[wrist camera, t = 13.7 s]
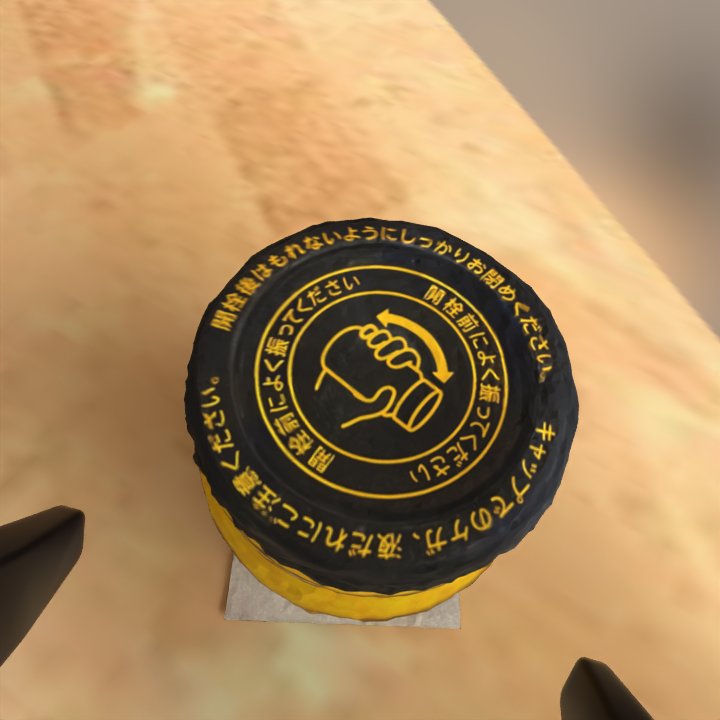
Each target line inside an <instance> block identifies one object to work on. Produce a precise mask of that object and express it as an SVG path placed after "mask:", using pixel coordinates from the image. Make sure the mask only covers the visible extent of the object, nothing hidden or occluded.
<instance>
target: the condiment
mask: <svg viewBox="0 0 720 720" xmlns="http://www.w3.org/2000/svg"><path fill="white" fill-rule="evenodd" d="M187 369H188V377H187V379H186V381H185V383H186V391H185V397H184V402H185V415H186V418H185V419H186V422H187V430H188V432H189V434H190V436H191V437H192V439H193V441H194V445H195V453H194V455H193V459H194V462H195V464H196V465H197V466H198V467H199V470H200V473H201V479H202V484H203V489H204V493H205V495H206V498H207V502H208V506H209V510H210V512H211V515H212V518H213V520H214V522H215V524H216V527H217V528H218V530H219V532H220V534H221V535H222V537H223V539H224V540H225V541H226V543H227V544H228V546H229V547H230V548H231V550H232V552H233V553H234V555H233V562H232V568H231V576H230V584H229V591H228V598H227V605H226V611H225V616H224V620H247V621H274V622H302V623H326V624H353V625H379V626H401V627H410V626H412V627H429V628H455V629H461V622H460V602H459V592H460V591H461V590H463V589H465V588H467V587H469V586H470V585H471V584H473V583H474V582H475V581H476V579H477V578H478V577H479V576H480V575H481V574H482V573H483V572H484V571H485V570H486V569H487V568H488V567H489V566H490V565H491V563H492V562H493V560H494V559H495V558H496V557H497V556H498V555H499V554H503V553H506V552H508V551H510V550H512V549H514V548H515V547H516V546H517V545H518V543H519V542H520V541H521V540H522V539H523V538H524V537H525V536H526V534H527V533H528V532H530V531H532V530H533V529H534V527H535V525H536V524H537V522H538V521H539V519H540V517H541V516H542V515H543V514H544V512H545V510H546V509H547V508H548V507H549V506H550V505H551V504H552V502H553V499H554V496H555V494H556V491H557V489H558V488H559V486H560V484H561V480H562V477H563V473H564V470H565V467H566V464H567V462H568V458H569V452H570V449H571V445H572V442H573V438H574V435H575V432H576V428H577V424H578V412H579V403H578V396H577V391H576V387H575V384H574V380H573V377H572V370H571V363H570V360H569V356H568V351H567V346H566V343H565V341H564V338H563V336H562V334H561V333H560V331H559V329H558V327H557V325H556V323H555V321H554V319H553V317H552V314H551V311H550V310H549V309H548V308H547V307H546V305H545V304H544V303H543V302H542V301H541V299H540V298H539V297H538V296H537V294H536V293H535V292H534V290H533V289H532V287H531V286H529V285H528V284H526V283H525V282H523V281H522V280H521V279H520V278H519V277H518V276H517V275H515V274H514V273H513V272H511V271H510V270H508V269H507V268H506V267H504V266H503V265H501V264H500V263H499V262H497V261H496V260H495V259H494V258H493V257H491V256H490V255H488V254H487V253H485V252H483V251H482V250H480V249H478V248H475V247H474V246H472V245H470V244H469V243H467V242H465V241H463V240H461V239H460V238H457V237H455V236H453V235H451V234H449V233H447V232H445V231H443V230H441V229H439V228H437V227H431V226H426V225H420V224H414V223H410V222H405V221H388V220H381V219H375V218H361V219H355V220H344V221H327V222H324V223H321V224H318V225H312V226H310V227H308V228H306V229H304V230H302V231H300V232H297V233H295V234H293V235H291V236H288V237H286V238H283V239H281V240H279V241H277V242H276V243H273V244H271V245H269V246H267V247H266V248H264V249H263V250H261V251H259V252H258V253H256V254H254V255H253V256H251V257H250V259H249V260H248V261H247V262H246V263H245V265H244V266H243V267H242V268H241V269H240V270H239V271H238V273H237V274H236V275H235V276H234V277H233V278H232V279H231V280H230V281H229V282H228V283H227V285H226V286H225V287H224V289H223V290H222V291H221V292H220V294H219V295H218V296H217V297H216V298H215V299H214V300H213V301H212V302H210V303H209V305H208V307H207V309H206V311H205V313H204V315H203V317H202V319H201V322H200V324H199V327H198V330H197V333H196V336H195V340H194V342H193V351H192V355H191V358H190V361H189V363H188V366H187Z"/></svg>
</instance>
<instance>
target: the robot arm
mask: <svg viewBox="0 0 720 720" xmlns="http://www.w3.org/2000/svg"><path fill="white" fill-rule="evenodd" d="M84 525H85V515H84V513H83V512H82V511H81V510H78V509H75V508H71V507H68V506H63V505H61V506H57V507H54V508H51V509H48V510H45V511H42V512H40V513H37V514H34V515H31V516H28V517H25V518H23V519H20V520H17V521H14V522H11V523H9V524H6V525H3V526H0V667H1V665H2V664H3V663H4V662H5V661H6V659H7V658H8V657H9V656H10V655H11V653H12V652H13V651H14V650H15V648H16V647H17V646H18V645H19V643H20V642H21V641H22V640H23V638H24V637H25V635H26V634H27V633H28V631H29V630H30V629H31V627H32V626H33V624H34V623H35V622H36V620H37V619H38V617H39V616H40V614H41V613H42V611H43V610H44V609H45V607H46V606H47V604H48V603H49V601H50V600H51V599H52V597H53V596H54V594H55V593H56V591H57V590H58V588H59V587H60V586H61V584H62V583H63V581H64V580H65V578H66V577H67V576H68V574H69V573H70V571H71V570H72V568H73V567H74V565H75V564H76V563H77V561H78V559H79V557H80V555H81V552H82V549H83V539H84ZM560 708H561V718H562V720H654V719H653V718H652V717H651V715H650V714H649V713H648V712H647V711H646V710H645V708H644V707H643V706H642V705H641V704H640V703H639V701H638V700H637V699H636V698H635V697H634V696H633V695H632V693H631V692H630V691H629V690H628V689H627V688H626V686H625V685H624V684H623V683H622V682H621V681H620V679H619V678H618V677H617V676H616V675H615V674H614V672H613V671H612V670H611V669H610V668H609V667H608V666H607V665H606V664H604V663H602V662H599V661H596V660H593V659H589V658H586V657H581V658H580V659H578V660H577V662H576V663H575V665H574V667H573V669H572V671H571V673H570V675H569V677H568V679H567V681H566V683H565V685H564V687H563V689H562V692H561V697H560Z"/></svg>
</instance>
